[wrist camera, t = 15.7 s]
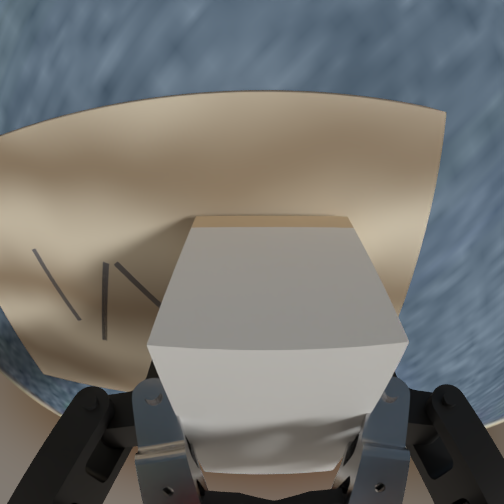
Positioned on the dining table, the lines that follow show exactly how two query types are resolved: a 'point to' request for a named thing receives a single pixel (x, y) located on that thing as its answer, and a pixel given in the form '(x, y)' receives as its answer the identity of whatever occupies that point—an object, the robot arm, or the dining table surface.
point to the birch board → (191, 205)
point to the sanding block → (274, 341)
